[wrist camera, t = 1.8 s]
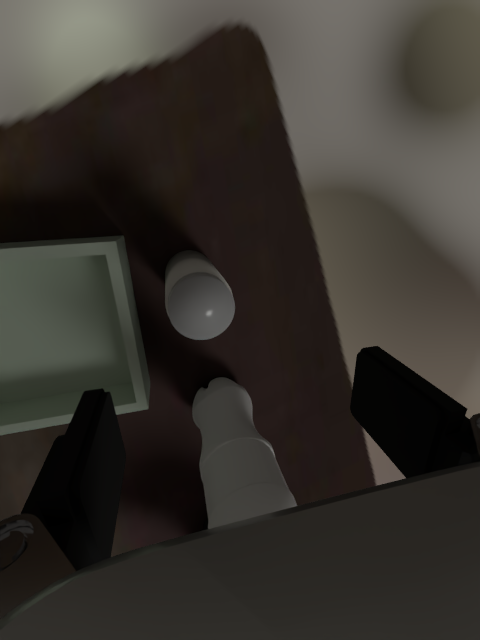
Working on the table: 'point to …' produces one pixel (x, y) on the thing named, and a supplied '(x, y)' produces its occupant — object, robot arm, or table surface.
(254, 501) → the water bottle
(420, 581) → the robot arm
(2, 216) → the table surface
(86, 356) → the tray
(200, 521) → the table surface
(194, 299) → the shaker
